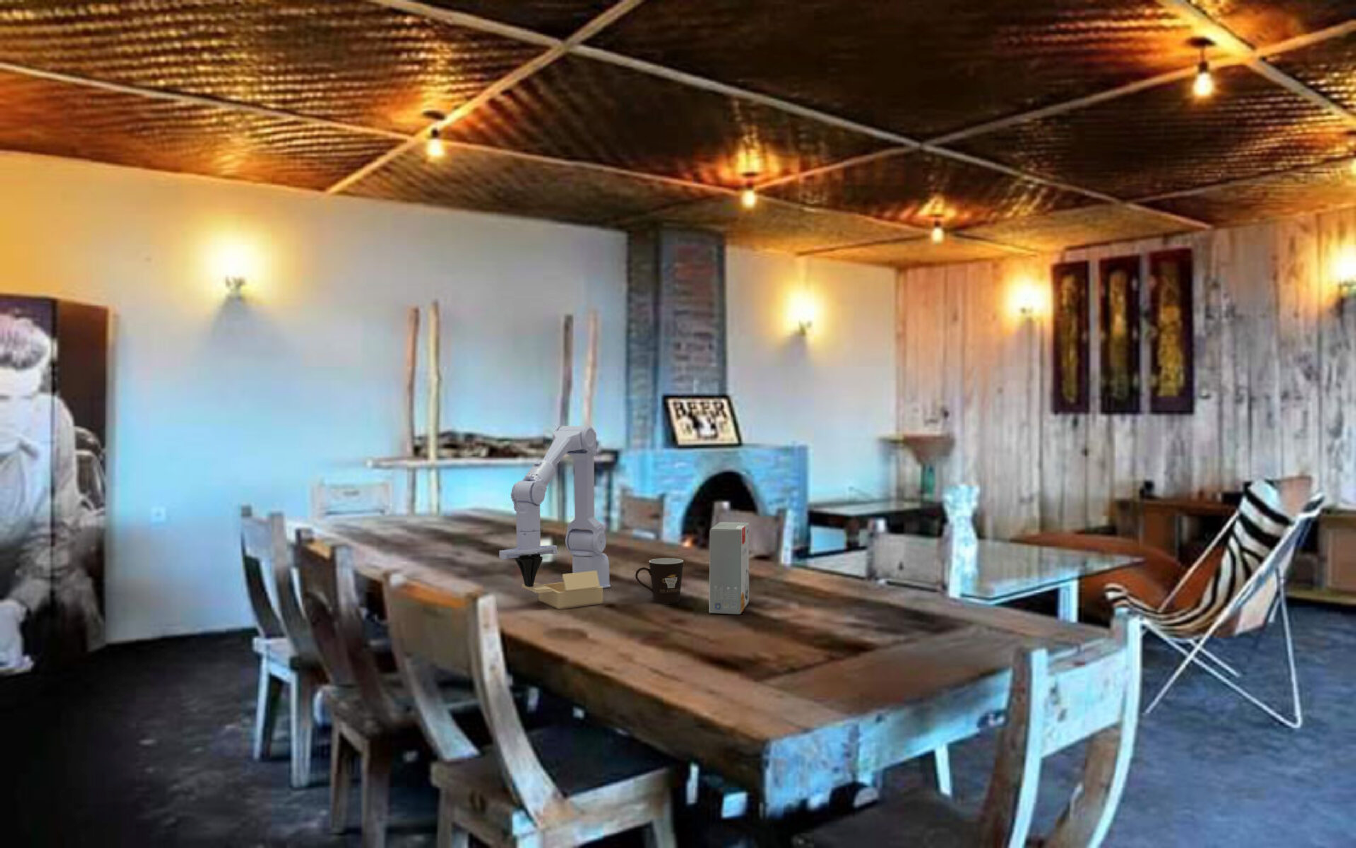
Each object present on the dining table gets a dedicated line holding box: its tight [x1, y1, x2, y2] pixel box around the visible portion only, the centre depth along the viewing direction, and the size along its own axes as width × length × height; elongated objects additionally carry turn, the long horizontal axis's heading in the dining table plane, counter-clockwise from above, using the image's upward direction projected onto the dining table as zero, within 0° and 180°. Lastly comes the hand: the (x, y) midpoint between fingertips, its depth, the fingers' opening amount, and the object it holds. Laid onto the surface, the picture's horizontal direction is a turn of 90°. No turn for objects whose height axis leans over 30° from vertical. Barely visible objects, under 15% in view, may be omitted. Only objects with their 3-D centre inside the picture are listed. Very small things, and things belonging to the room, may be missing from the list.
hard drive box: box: [708, 521, 750, 615], centre depth 226 cm, size 16×8×20 cm, turn 168°
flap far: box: [521, 582, 552, 594], centre depth 230 cm, size 4×9×1 cm, turn 31°
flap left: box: [561, 571, 600, 591], centre depth 229 cm, size 9×4×1 cm
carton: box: [538, 581, 604, 610], centre depth 234 cm, size 12×12×4 cm
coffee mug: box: [634, 557, 684, 605], centre depth 235 cm, size 12×9×10 cm
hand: (529, 586), depth 229 cm, fingers closed
